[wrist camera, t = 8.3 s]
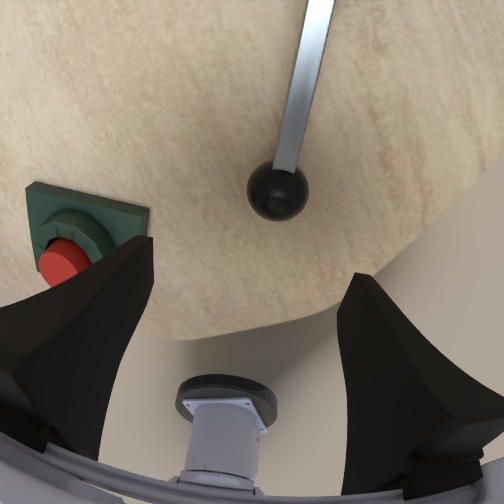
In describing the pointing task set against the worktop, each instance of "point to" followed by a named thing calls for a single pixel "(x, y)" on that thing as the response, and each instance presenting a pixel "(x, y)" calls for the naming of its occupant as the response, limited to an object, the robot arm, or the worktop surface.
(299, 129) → the grey lever handle
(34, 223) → the button box
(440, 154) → the worktop surface
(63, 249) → the button
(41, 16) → the worktop surface
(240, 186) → the worktop surface
